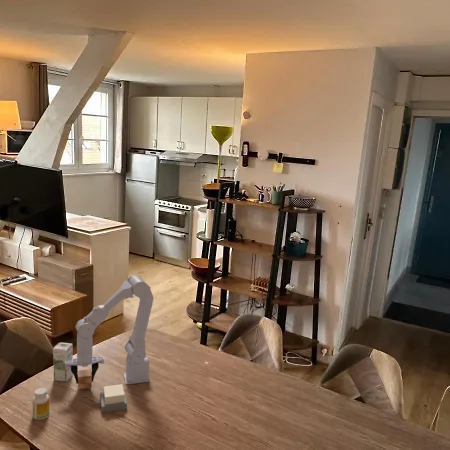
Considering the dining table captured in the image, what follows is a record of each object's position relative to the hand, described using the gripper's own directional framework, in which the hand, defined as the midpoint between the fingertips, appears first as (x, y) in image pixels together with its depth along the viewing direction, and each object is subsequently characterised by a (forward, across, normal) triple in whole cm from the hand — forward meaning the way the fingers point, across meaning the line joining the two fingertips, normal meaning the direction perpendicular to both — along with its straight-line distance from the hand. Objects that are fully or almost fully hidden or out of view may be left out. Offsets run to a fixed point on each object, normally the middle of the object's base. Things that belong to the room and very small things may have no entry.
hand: (84, 381), depth 166 cm
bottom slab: (+4, +10, -12) cm, 16 cm away
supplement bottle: (+3, -15, -13) cm, 20 cm away
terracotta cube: (+2, 0, 0) cm, 2 cm away
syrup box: (+3, -8, +10) cm, 13 cm away
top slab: (+1, +10, -12) cm, 16 cm away
